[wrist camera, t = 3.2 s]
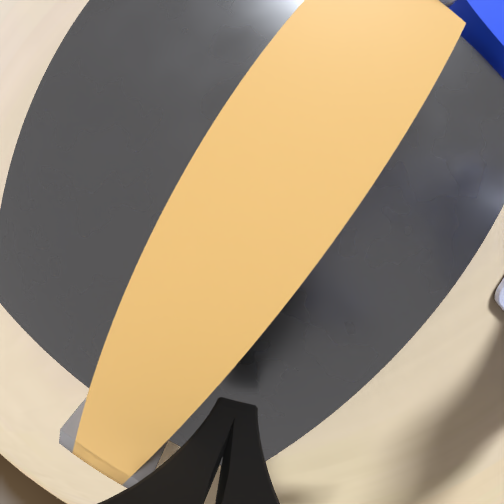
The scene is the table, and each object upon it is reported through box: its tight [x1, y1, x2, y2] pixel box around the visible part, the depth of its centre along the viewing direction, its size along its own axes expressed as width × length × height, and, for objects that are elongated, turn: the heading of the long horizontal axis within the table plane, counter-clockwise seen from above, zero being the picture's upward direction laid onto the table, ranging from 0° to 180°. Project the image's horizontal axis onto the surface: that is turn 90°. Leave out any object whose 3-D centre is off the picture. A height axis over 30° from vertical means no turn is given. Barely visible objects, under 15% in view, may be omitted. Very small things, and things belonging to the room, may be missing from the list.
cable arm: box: [59, 0, 466, 488], centre depth 7 cm, size 20×4×3 cm, turn 148°
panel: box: [0, 0, 504, 465], centre depth 7 cm, size 18×22×6 cm
